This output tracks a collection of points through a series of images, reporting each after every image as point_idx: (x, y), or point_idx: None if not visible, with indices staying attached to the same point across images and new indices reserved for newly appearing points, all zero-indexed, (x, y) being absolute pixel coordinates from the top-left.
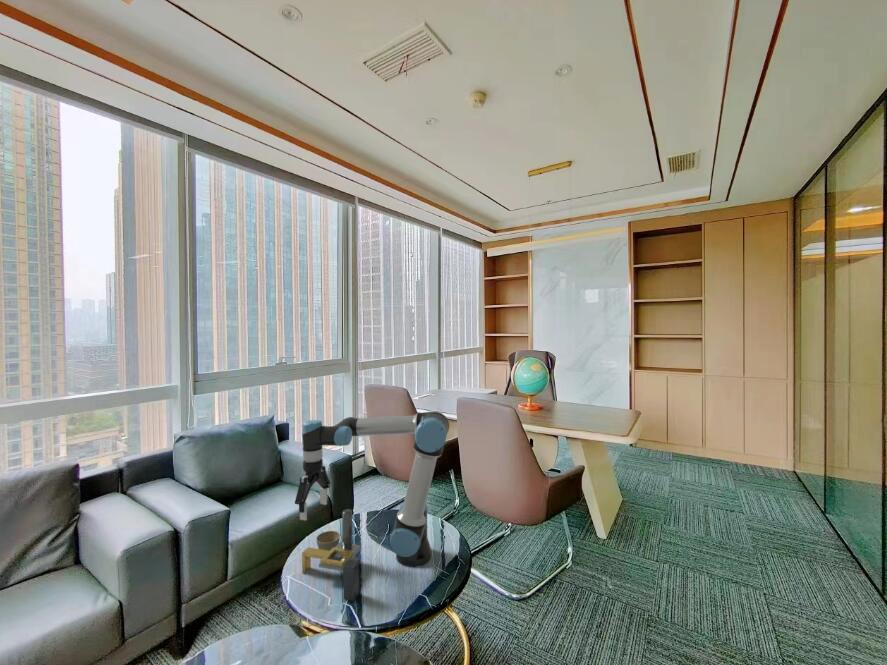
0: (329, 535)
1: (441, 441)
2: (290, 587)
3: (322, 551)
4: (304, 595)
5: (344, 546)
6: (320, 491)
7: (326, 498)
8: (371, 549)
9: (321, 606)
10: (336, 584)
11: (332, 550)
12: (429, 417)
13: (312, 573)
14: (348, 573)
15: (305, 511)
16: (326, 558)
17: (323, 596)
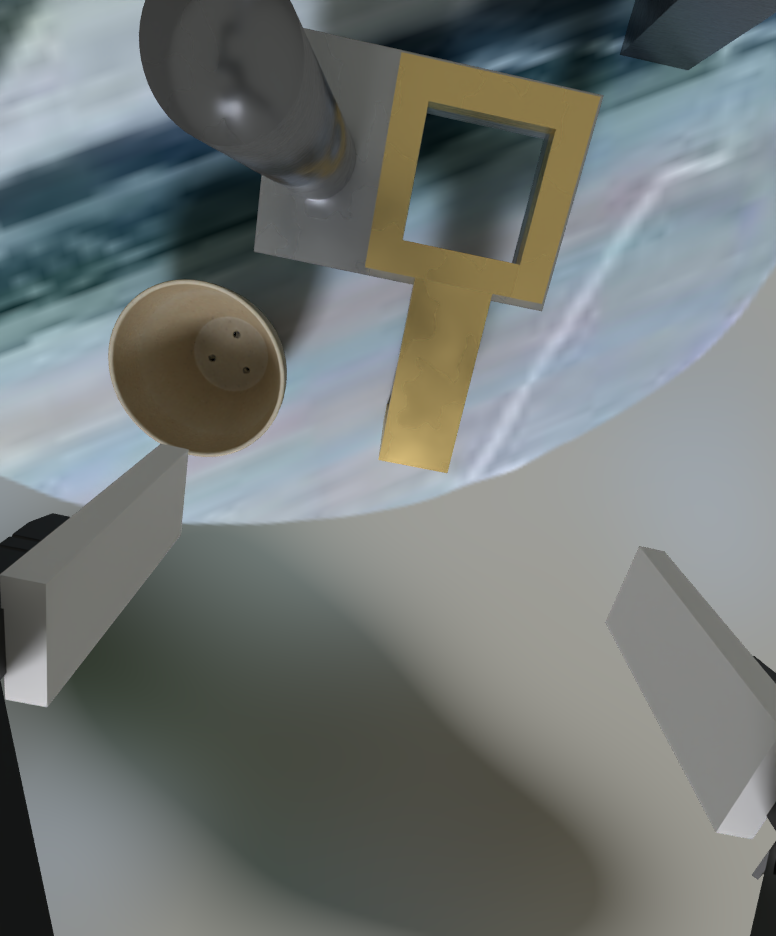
0: (137, 384)
1: None
2: (558, 442)
3: (425, 333)
4: (629, 340)
5: (351, 164)
6: (80, 656)
7: (128, 481)
8: (137, 29)
9: (734, 200)
10: None
11: (408, 256)
12: None
13: None
14: None
15: (731, 631)
16: (517, 265)
17: (648, 222)
